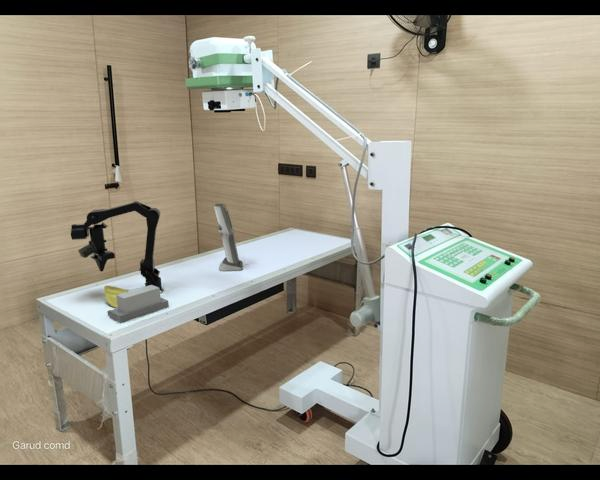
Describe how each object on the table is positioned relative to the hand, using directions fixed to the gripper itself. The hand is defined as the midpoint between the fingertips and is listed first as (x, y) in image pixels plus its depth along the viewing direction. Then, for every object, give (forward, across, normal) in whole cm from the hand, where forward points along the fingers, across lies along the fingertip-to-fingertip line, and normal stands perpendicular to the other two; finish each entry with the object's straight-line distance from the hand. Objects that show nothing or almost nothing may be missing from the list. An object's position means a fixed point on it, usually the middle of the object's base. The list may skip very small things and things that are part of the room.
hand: (101, 271), depth 219 cm
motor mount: (+12, +31, 0) cm, 33 cm away
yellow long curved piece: (+12, +17, +2) cm, 21 cm away
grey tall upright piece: (+12, +13, +65) cm, 67 cm away
